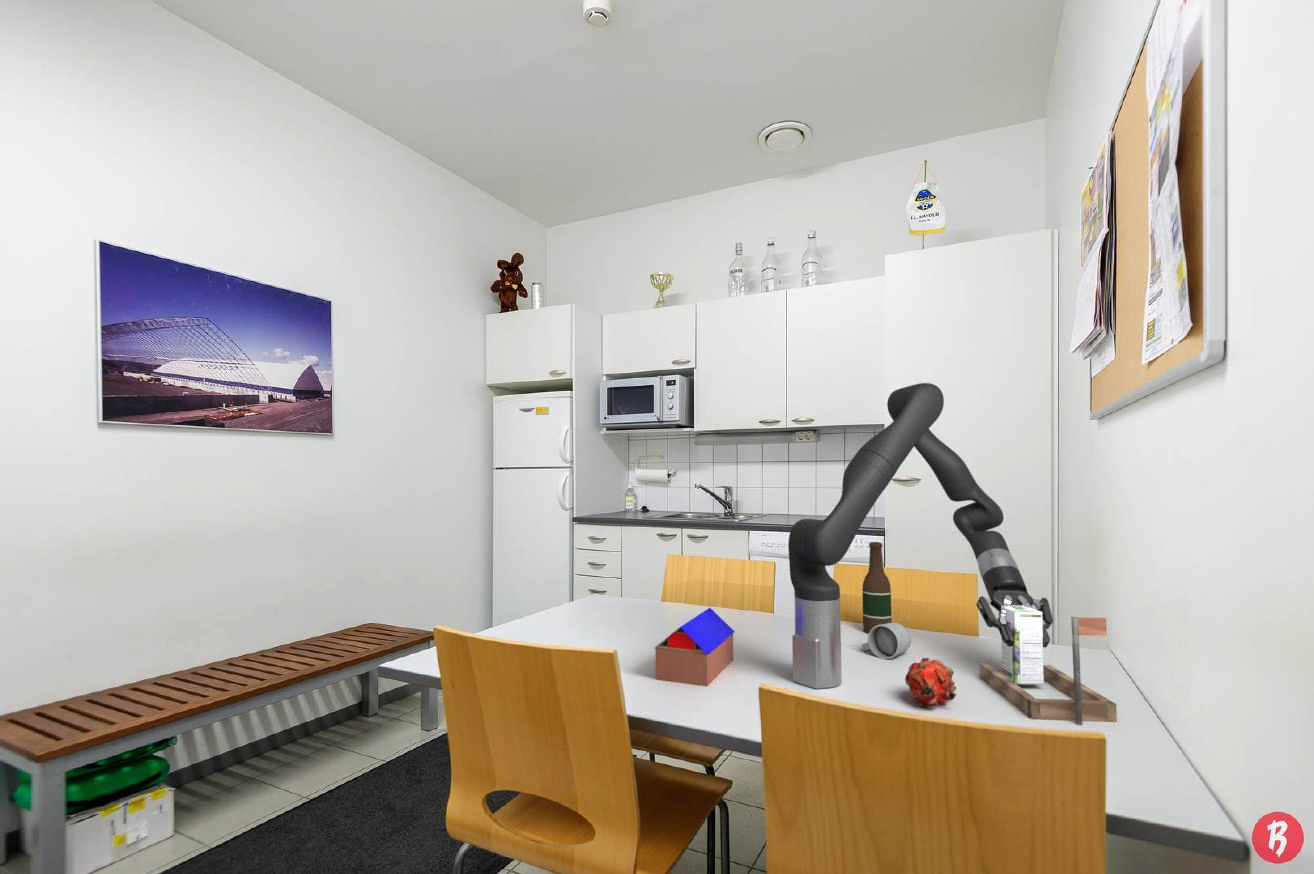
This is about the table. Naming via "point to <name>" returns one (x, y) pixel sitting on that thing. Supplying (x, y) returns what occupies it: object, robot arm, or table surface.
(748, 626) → the table surface
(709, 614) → the house
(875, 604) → the beer bottle
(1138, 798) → the table surface
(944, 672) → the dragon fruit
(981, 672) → the wooden frame with flag
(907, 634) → the ceramic mug
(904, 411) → the robot arm
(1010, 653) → the syrup box
